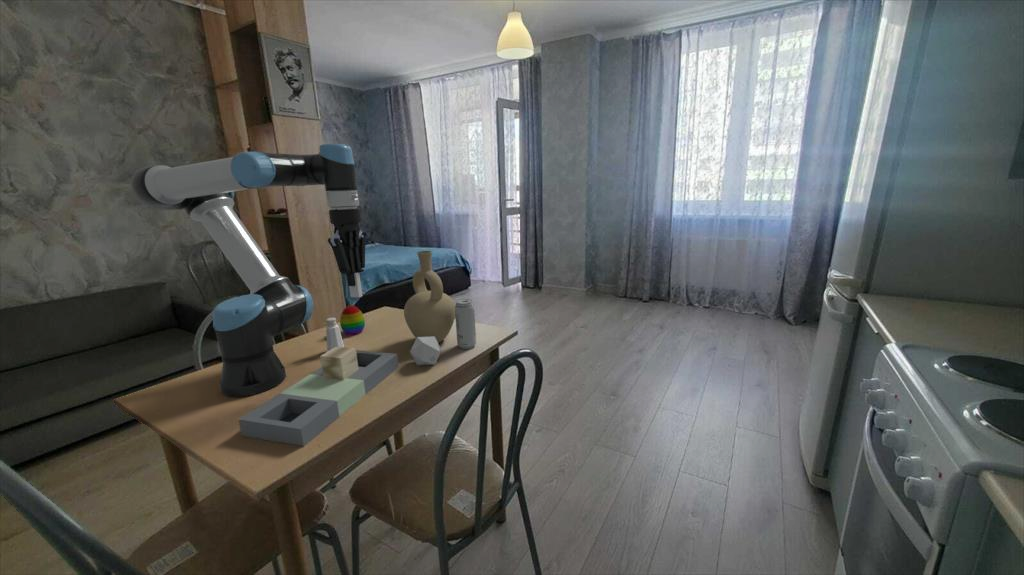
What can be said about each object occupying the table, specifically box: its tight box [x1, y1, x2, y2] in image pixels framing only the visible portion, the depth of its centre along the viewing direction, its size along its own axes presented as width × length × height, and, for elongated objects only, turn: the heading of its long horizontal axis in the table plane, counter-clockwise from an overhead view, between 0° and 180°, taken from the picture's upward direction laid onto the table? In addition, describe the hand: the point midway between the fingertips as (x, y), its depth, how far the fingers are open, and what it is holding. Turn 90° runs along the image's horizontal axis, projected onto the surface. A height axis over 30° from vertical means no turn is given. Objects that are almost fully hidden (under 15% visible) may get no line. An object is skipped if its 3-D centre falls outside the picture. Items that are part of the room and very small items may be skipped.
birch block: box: [319, 346, 359, 380], centre depth 105 cm, size 6×6×6 cm
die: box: [409, 336, 442, 366], centre depth 118 cm, size 8×9×10 cm
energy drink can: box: [455, 298, 477, 350], centre depth 128 cm, size 6×6×15 cm
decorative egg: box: [339, 304, 366, 336], centre depth 145 cm, size 8×8×10 cm
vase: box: [403, 250, 456, 344], centre depth 132 cm, size 17×17×30 cm
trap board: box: [238, 349, 400, 447], centre depth 102 cm, size 16×37×4 cm, turn 165°
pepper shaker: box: [325, 317, 345, 352], centre depth 128 cm, size 5×5×11 cm
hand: (356, 296), depth 110 cm, fingers closed
